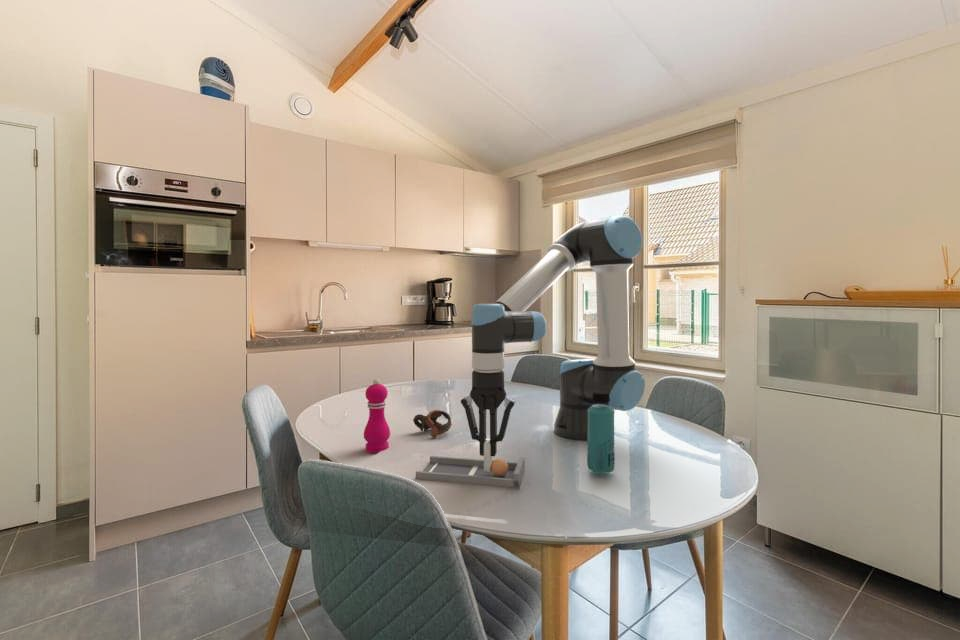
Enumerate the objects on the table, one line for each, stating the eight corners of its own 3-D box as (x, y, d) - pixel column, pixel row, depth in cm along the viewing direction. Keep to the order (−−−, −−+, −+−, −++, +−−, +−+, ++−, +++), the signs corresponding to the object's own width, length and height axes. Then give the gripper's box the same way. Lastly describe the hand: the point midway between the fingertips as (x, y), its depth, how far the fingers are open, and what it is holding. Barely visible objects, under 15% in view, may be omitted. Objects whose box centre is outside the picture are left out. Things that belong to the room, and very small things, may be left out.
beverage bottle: (610, 482, 103) (611, 395, 102) (582, 475, 107) (583, 392, 106) (617, 472, 109) (619, 390, 108) (591, 467, 112) (592, 387, 111)
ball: (508, 473, 107) (509, 457, 107) (506, 480, 103) (507, 463, 103) (491, 471, 108) (493, 455, 107) (489, 477, 104) (490, 461, 103)
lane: (524, 471, 110) (524, 456, 109) (518, 490, 99) (519, 474, 99) (430, 463, 115) (430, 449, 114) (415, 480, 104) (415, 465, 104)
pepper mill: (367, 455, 120) (366, 382, 119) (361, 447, 127) (360, 377, 126) (393, 451, 124) (392, 379, 123) (386, 444, 130) (385, 375, 129)
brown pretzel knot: (448, 429, 146) (454, 410, 142) (445, 450, 138) (451, 431, 134) (412, 420, 145) (417, 401, 141) (407, 441, 137) (412, 422, 133)
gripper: (517, 368, 107) (517, 465, 108) (464, 366, 110) (465, 461, 111) (513, 373, 100) (513, 477, 101) (456, 371, 102) (457, 473, 103)
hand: (488, 469), depth 106 cm, fingers closed
